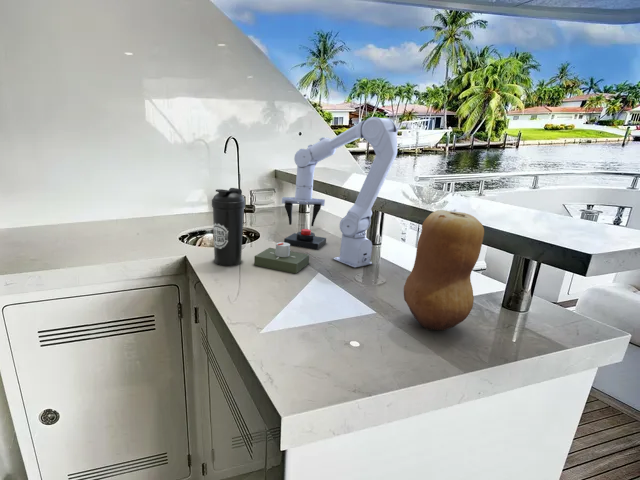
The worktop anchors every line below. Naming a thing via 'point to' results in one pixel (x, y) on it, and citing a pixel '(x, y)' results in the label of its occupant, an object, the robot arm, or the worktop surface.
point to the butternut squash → (444, 269)
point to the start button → (306, 232)
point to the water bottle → (228, 226)
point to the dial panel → (282, 261)
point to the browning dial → (282, 249)
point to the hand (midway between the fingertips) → (301, 224)
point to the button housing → (305, 240)
